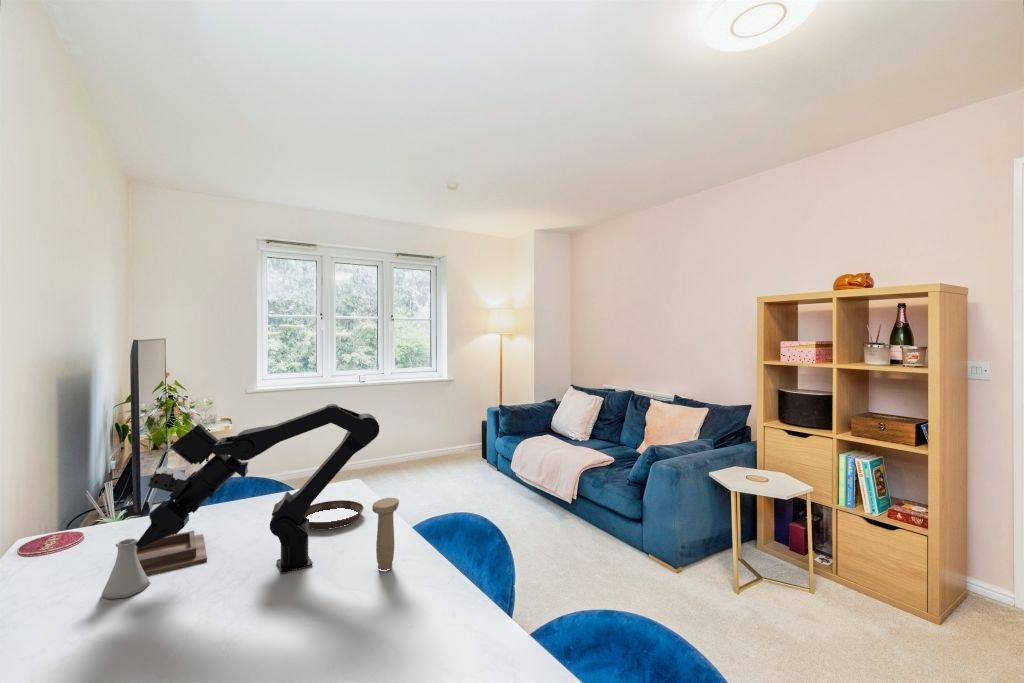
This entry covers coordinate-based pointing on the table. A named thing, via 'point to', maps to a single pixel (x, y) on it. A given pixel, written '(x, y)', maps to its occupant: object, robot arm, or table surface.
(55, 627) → the table surface
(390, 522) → the handle
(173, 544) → the holder
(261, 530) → the table surface
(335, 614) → the table surface
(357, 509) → the ring
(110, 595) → the flask
